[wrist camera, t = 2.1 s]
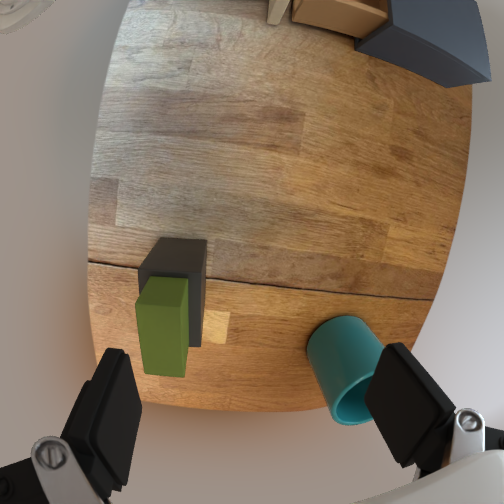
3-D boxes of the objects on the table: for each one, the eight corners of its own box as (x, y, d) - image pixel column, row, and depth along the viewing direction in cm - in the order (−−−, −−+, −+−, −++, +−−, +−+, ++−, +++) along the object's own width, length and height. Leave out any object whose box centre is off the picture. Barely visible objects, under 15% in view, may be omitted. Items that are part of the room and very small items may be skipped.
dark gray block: (160, 237, 29) (137, 268, 21) (207, 239, 30) (201, 272, 21) (161, 296, 31) (144, 343, 23) (205, 299, 32) (200, 347, 23)
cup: (301, 386, 38) (321, 446, 27) (307, 317, 34) (339, 378, 23) (357, 375, 38) (387, 428, 28) (372, 308, 35) (417, 359, 24)
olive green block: (150, 275, 21) (134, 303, 17) (188, 277, 21) (181, 307, 17) (154, 339, 23) (144, 374, 18) (189, 342, 23) (184, 378, 19)
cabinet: (354, 50, 24) (393, 24, 16) (352, -23, 20) (381, -54, 12) (446, 88, 26) (491, 81, 18) (439, 17, 22) (476, 2, 14)
